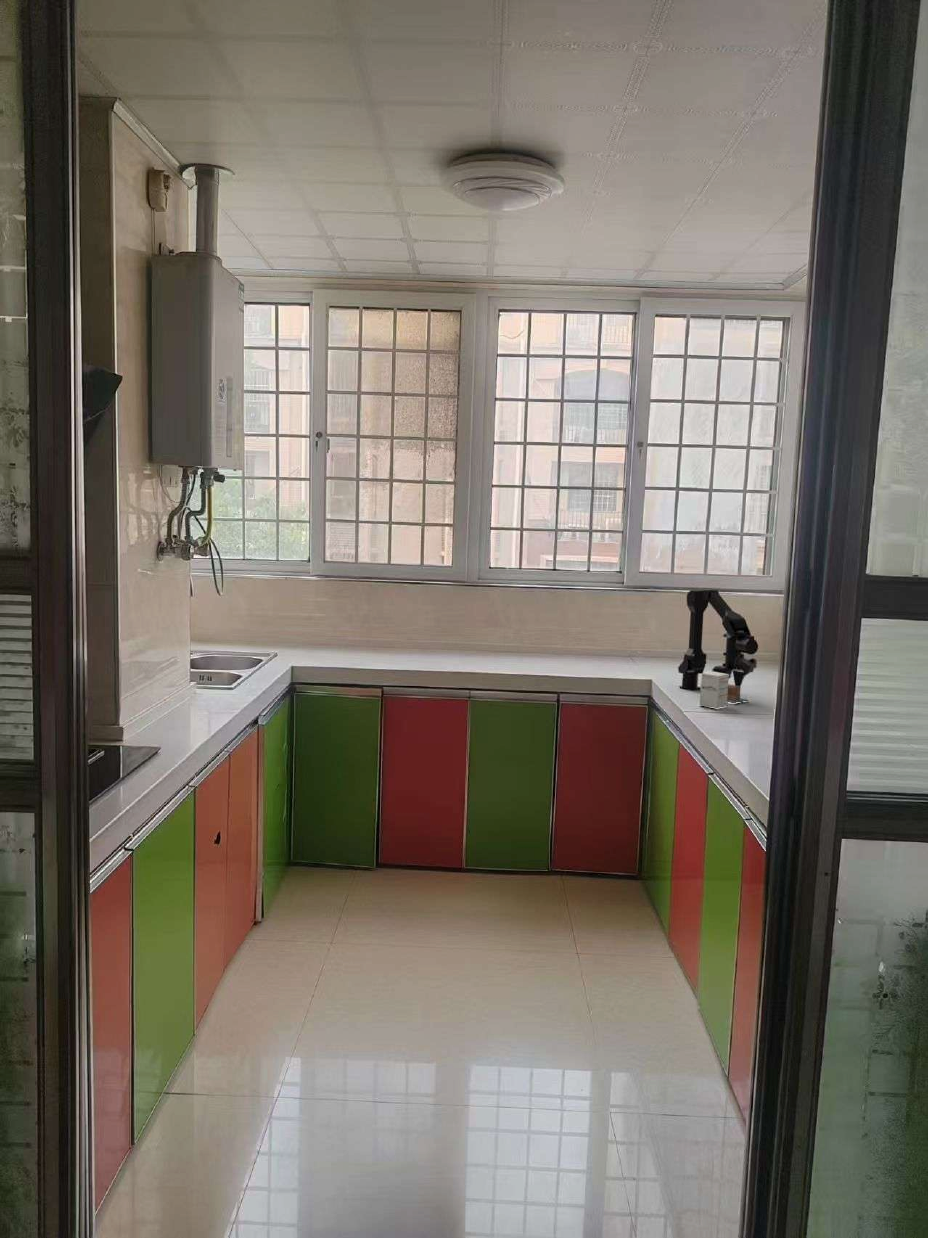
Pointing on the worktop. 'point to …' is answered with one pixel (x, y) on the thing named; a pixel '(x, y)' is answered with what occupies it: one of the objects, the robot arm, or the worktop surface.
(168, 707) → the worktop surface
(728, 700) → the slate mat
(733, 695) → the walnut block
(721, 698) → the supplement box
